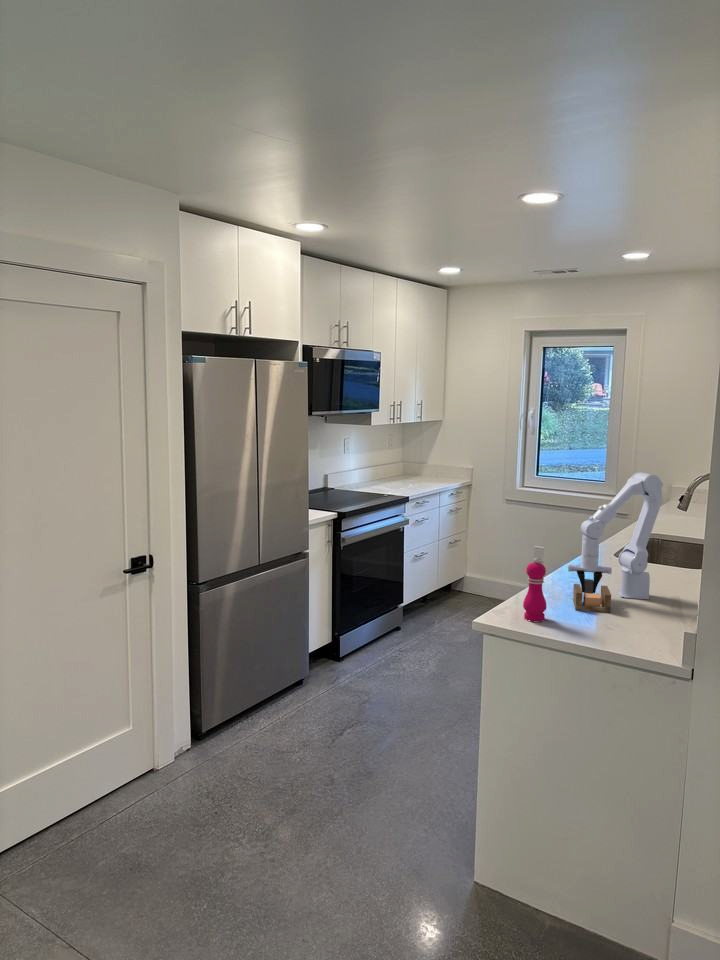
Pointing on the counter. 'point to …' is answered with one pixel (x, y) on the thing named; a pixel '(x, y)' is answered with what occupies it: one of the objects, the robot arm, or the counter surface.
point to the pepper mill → (535, 592)
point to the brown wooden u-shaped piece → (604, 602)
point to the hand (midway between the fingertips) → (588, 592)
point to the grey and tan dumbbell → (590, 594)
